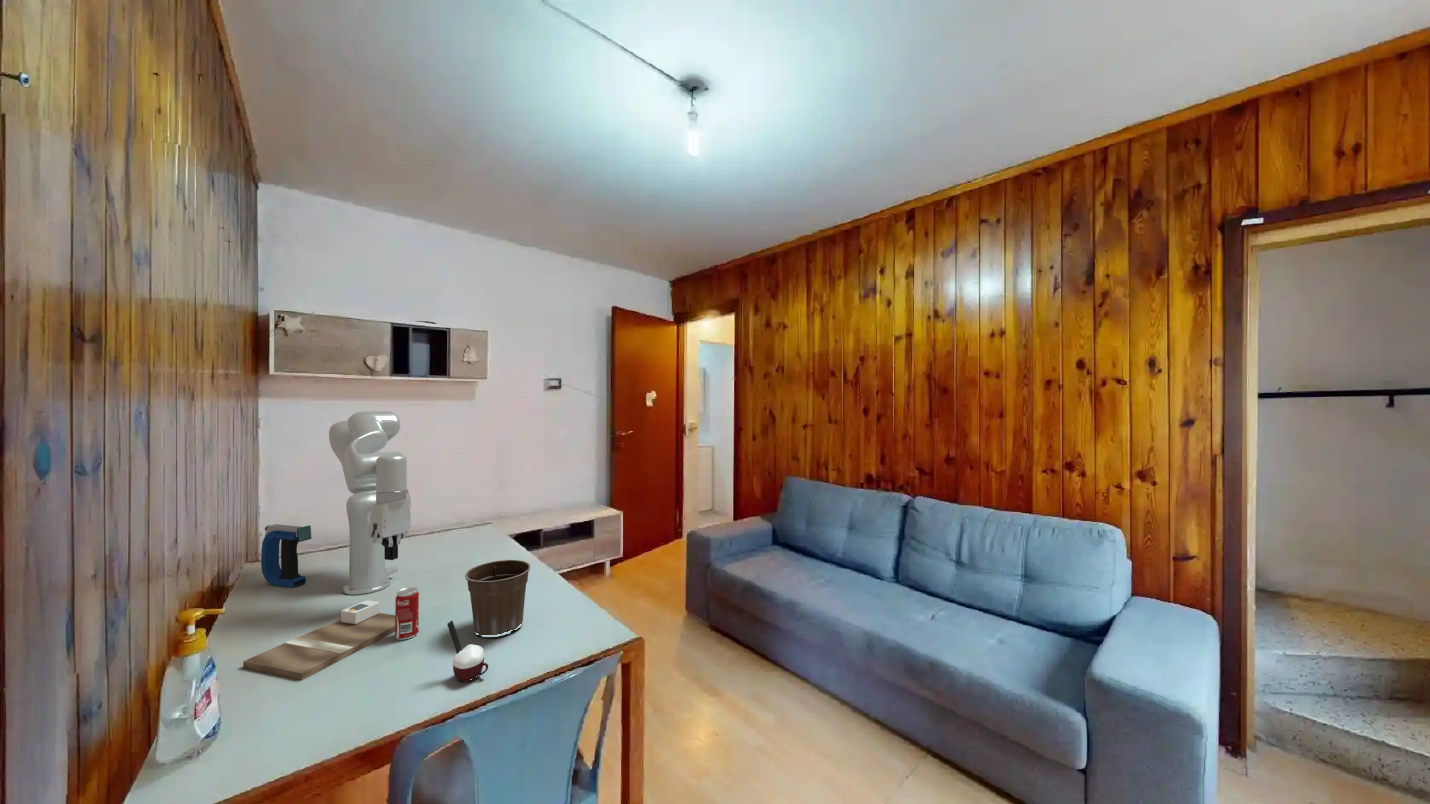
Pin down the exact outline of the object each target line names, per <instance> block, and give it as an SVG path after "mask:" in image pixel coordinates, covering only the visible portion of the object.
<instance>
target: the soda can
mask: <svg viewBox="0 0 1430 804" xmlns="http://www.w3.org/2000/svg"><path fill="white" fill-rule="evenodd" d="M394 604H395V606H394V608H395V610H394V611H395V612H394V615H395V632H394V638H395V639H396V640H397V641H407V640H406V639H408V640H410V639H409V638H411V639H413V638H415V637H416V636H418V634H419V632H420V631H419V630H420V629H419V628H420V626H419V625H420V624H419V623H420V622H419V621H420V613H419V612H420V610H419V609H420V593H419V590H418V588H417V587H406V588H401V589H399V590H397V592H396V595H395V603H394ZM415 635H416V636H415ZM414 636H415V637H414ZM412 637H413V638H412Z"/></svg>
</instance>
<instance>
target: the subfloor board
mask: <svg viewBox="0 0 1430 804" xmlns="http://www.w3.org/2000/svg"><path fill="white" fill-rule="evenodd" d="M393 633H395V614H390V613H383V612H380V613H379V614H376V615H374V616H372V617H370V618H368V619H366V620H364V621H361V622H359V623H357V624H351V623H345V622H341V618H339V619H337V620H334V621H332V622H330V623H328V624H326V625H323V626H320V627H318V628H317V629H314V630H312V631H310V632H307V633H305V634H302V635H301V636H298V637H295V638H294V637H293V639H290V640H288V641H285V642H284V643H282V644H280V645H278V646H275V647H273V648H271V649H268V650H266V651H264V652H263V651H262V652H261V653H259V654H257V655H254V656H253V657H250V658H248V659H246V660H243V661H242V664H243V665H242V668H243V669H248V670H252V671H256V670H257V671H256V672H262V673H266V674H270V675H276V676H281V677H285V678H289V679H294V680H300V681H303V680H305V679H308V677H310V676H312V675H315V674H316V673H318V672H321V671H322V670H324V669H326V668H328V667H330V666H332V665H334V664H336V663H338V662H339V660H340V661H341V660H343V659H345V658H347V657H349V656H350V655H353V654H355V653H358V652H359V651H361V650H363V649H364V648H366V647H368V646H370V645H372V644H374V643H376V642H378V641H380V640H381V639H383V638H385V637H388V636H390V635H391V634H393ZM387 635H388V636H387Z"/></svg>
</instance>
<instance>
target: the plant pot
mask: <svg viewBox="0 0 1430 804" xmlns="http://www.w3.org/2000/svg"><path fill="white" fill-rule="evenodd" d="M530 570H531V564H530V563H529V562H527V561H525V560H520V559H504V560H494V561H489V562H484V563H482V564H479V565H476V566H474V567H472V568H469V569H468V570H467V571H466V572H465V574H464V577H465V580H466V581H467V589H468V592H469V595H470V603H471V612H472V620H473V621H472V622H473V632H474V631H475V632H476V633H478V634H479V635H497V634H502V633H504V632H508V631H510V630H514V629H516V628H517V627H518V626H519V625H520V624H522V622H523V623H524V611H525V610H524V609H525V601H526V589H527V583H528V581H529V572H530ZM522 625H523V624H522ZM514 631H515V630H514Z"/></svg>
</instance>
